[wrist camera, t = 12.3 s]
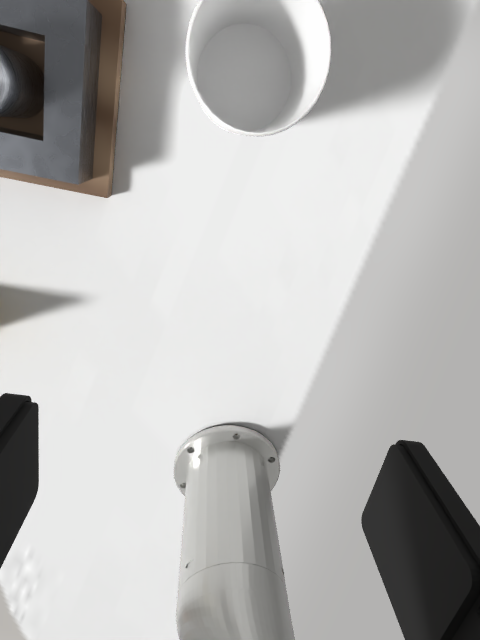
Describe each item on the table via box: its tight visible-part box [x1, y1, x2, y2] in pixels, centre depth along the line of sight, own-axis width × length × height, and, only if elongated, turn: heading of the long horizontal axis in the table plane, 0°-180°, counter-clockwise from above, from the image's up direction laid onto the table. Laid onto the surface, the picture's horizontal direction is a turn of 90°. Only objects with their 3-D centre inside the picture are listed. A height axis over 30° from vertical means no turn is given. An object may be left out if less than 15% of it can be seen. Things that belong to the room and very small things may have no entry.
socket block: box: [0, 0, 102, 185], centre depth 29 cm, size 11×11×4 cm
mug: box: [186, 0, 331, 137], centre depth 27 cm, size 8×12×12 cm
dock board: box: [0, 0, 126, 198], centre depth 32 cm, size 14×14×2 cm
